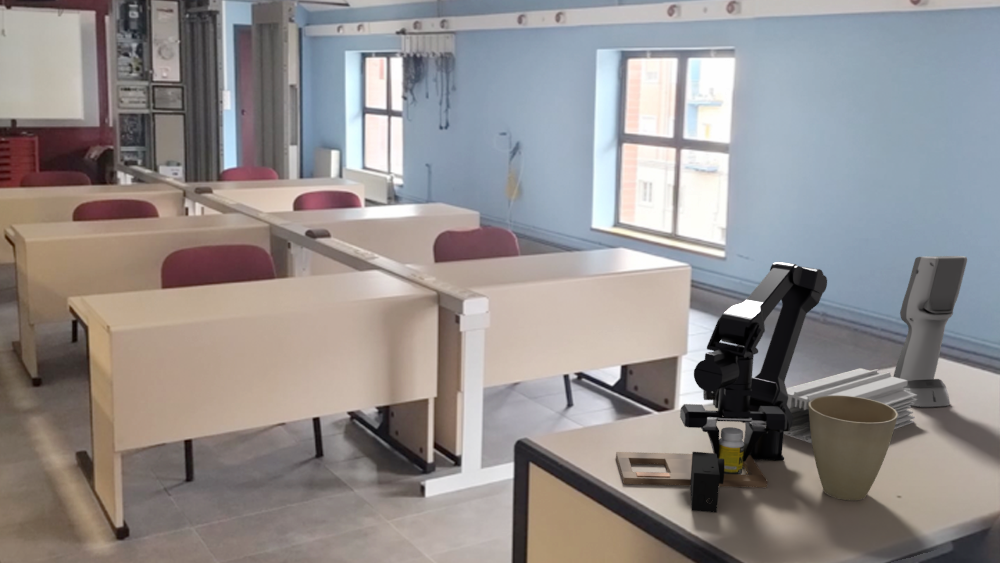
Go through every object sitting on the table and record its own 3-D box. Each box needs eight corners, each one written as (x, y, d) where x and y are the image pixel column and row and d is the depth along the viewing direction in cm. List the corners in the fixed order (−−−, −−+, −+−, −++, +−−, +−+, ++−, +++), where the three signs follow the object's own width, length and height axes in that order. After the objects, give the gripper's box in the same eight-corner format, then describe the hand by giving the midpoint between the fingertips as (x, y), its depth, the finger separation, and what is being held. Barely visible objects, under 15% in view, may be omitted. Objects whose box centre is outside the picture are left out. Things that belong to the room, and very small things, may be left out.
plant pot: (784, 482, 185) (791, 399, 181) (849, 473, 190) (857, 392, 187) (838, 515, 171) (846, 425, 168) (907, 504, 176) (916, 417, 173)
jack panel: (750, 461, 195) (750, 454, 194) (767, 487, 182) (767, 480, 182) (615, 457, 195) (616, 450, 194) (623, 484, 182) (623, 476, 182)
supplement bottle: (742, 479, 186) (745, 436, 184) (716, 476, 186) (719, 433, 185) (741, 469, 190) (744, 427, 189) (716, 467, 191) (719, 425, 189)
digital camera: (724, 514, 170) (726, 475, 169) (691, 511, 171) (694, 472, 170) (720, 490, 181) (723, 453, 179) (690, 487, 181) (692, 450, 180)
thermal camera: (912, 409, 229) (929, 257, 222) (879, 392, 241) (894, 248, 235) (957, 406, 232) (975, 257, 225) (922, 390, 244) (938, 247, 237)
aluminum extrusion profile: (914, 423, 220) (918, 379, 218) (832, 452, 202) (837, 404, 200) (856, 406, 231) (860, 364, 229) (773, 432, 213) (777, 386, 211)
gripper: (775, 369, 193) (768, 446, 196) (677, 366, 193) (673, 444, 196) (791, 386, 182) (784, 468, 185) (687, 383, 182) (682, 465, 185)
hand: (730, 460), depth 188 cm, fingers closed on supplement bottle, 5 cm apart
